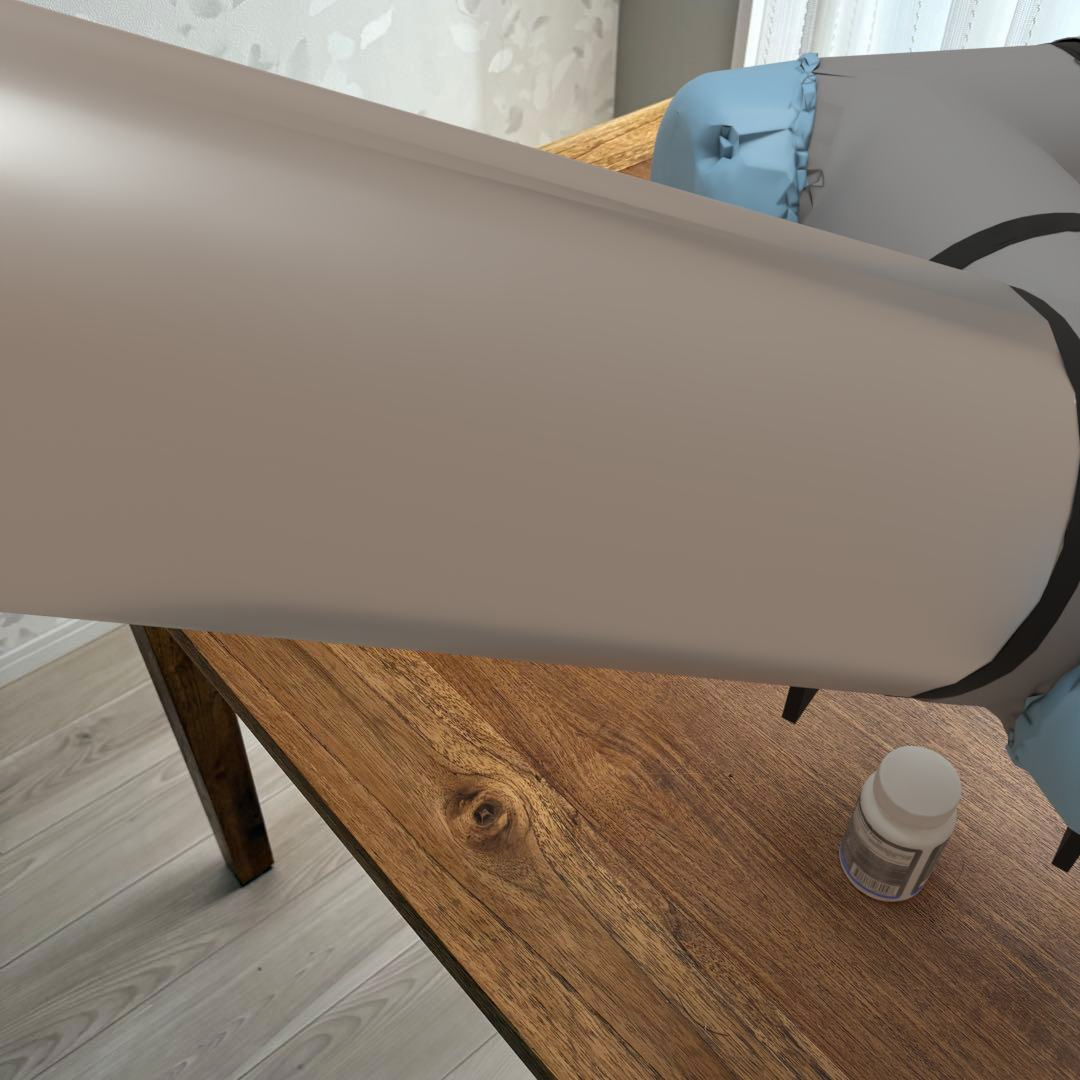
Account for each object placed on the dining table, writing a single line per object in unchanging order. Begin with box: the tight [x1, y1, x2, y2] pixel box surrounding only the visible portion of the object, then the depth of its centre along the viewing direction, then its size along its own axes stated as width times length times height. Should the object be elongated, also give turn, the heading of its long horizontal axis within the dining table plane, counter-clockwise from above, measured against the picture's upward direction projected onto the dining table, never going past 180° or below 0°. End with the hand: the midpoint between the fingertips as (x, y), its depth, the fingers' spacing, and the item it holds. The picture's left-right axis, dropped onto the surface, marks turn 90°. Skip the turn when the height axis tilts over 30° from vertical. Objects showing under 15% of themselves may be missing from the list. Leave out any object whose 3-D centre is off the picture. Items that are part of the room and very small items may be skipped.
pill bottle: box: [838, 745, 963, 903], centre depth 57 cm, size 5×5×8 cm
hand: (927, 771), depth 54 cm, fingers open, 13 cm apart
